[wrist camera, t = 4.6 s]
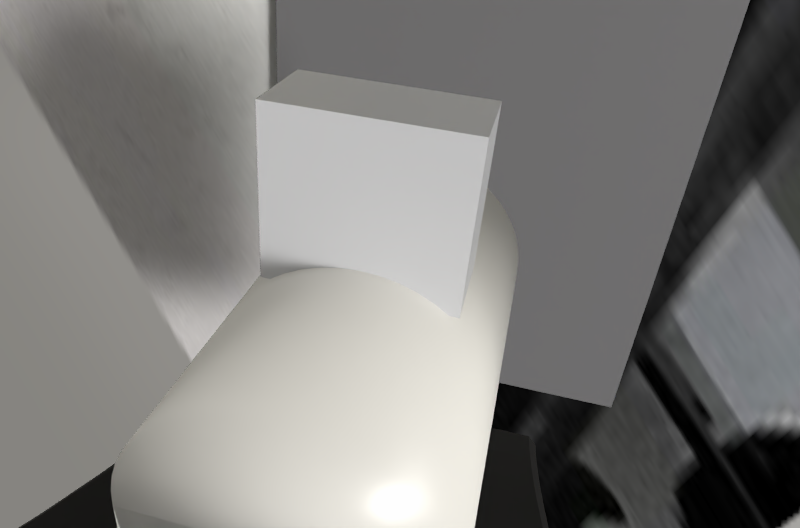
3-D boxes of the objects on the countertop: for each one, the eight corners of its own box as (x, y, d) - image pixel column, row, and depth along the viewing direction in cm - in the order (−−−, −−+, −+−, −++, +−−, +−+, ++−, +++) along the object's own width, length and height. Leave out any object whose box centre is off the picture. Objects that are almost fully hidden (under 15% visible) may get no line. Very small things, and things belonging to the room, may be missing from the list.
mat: (610, 400, 19) (610, 407, 19) (283, 328, 21) (279, 334, 21) (747, -3, 14) (749, -1, 13) (280, -61, 15) (275, -60, 15)
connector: (457, 558, 13) (395, 895, 9) (308, 520, 13) (180, 821, 9) (562, 57, 8) (535, 278, 4) (317, 22, 8) (42, 181, 4)
